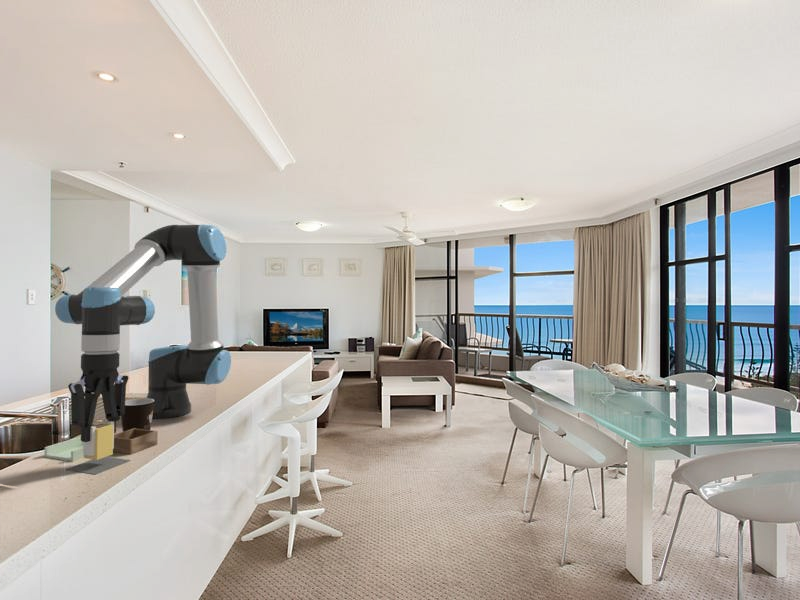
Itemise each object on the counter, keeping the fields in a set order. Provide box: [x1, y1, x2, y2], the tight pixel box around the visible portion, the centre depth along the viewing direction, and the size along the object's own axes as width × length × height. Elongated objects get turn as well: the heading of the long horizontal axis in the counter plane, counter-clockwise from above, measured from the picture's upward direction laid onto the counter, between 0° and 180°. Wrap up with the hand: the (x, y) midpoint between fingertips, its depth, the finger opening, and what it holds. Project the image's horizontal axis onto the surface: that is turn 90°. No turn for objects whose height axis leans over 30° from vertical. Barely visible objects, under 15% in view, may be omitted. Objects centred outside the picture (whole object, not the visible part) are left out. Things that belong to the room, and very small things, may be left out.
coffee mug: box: [120, 398, 154, 432], centre depth 127 cm, size 12×9×10 cm
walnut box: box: [113, 428, 158, 455], centre depth 116 cm, size 8×8×4 cm
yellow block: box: [83, 422, 114, 460], centre depth 103 cm, size 4×4×7 cm
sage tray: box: [44, 435, 85, 463], centre depth 112 cm, size 12×9×3 cm
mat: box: [65, 456, 131, 476], centre depth 103 cm, size 9×9×1 cm
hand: (98, 451), depth 103 cm, fingers closed on yellow block, 4 cm apart
